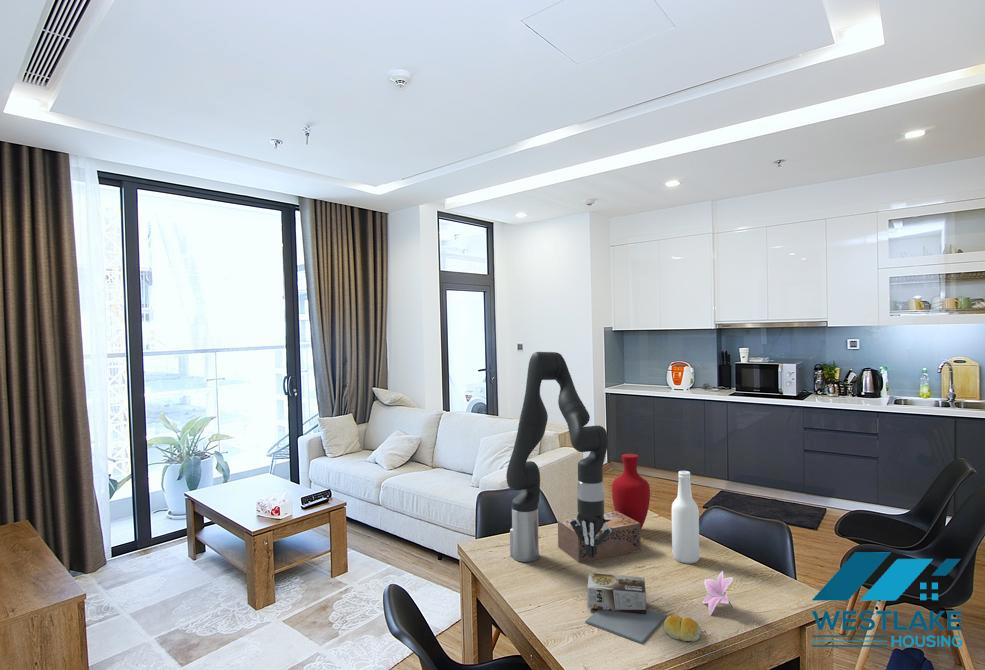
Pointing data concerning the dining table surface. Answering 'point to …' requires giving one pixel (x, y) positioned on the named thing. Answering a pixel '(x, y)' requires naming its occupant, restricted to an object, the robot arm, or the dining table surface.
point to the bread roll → (682, 628)
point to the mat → (627, 623)
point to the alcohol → (685, 523)
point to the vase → (631, 491)
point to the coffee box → (617, 593)
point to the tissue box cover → (616, 543)
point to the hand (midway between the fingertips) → (591, 557)
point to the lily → (716, 591)
